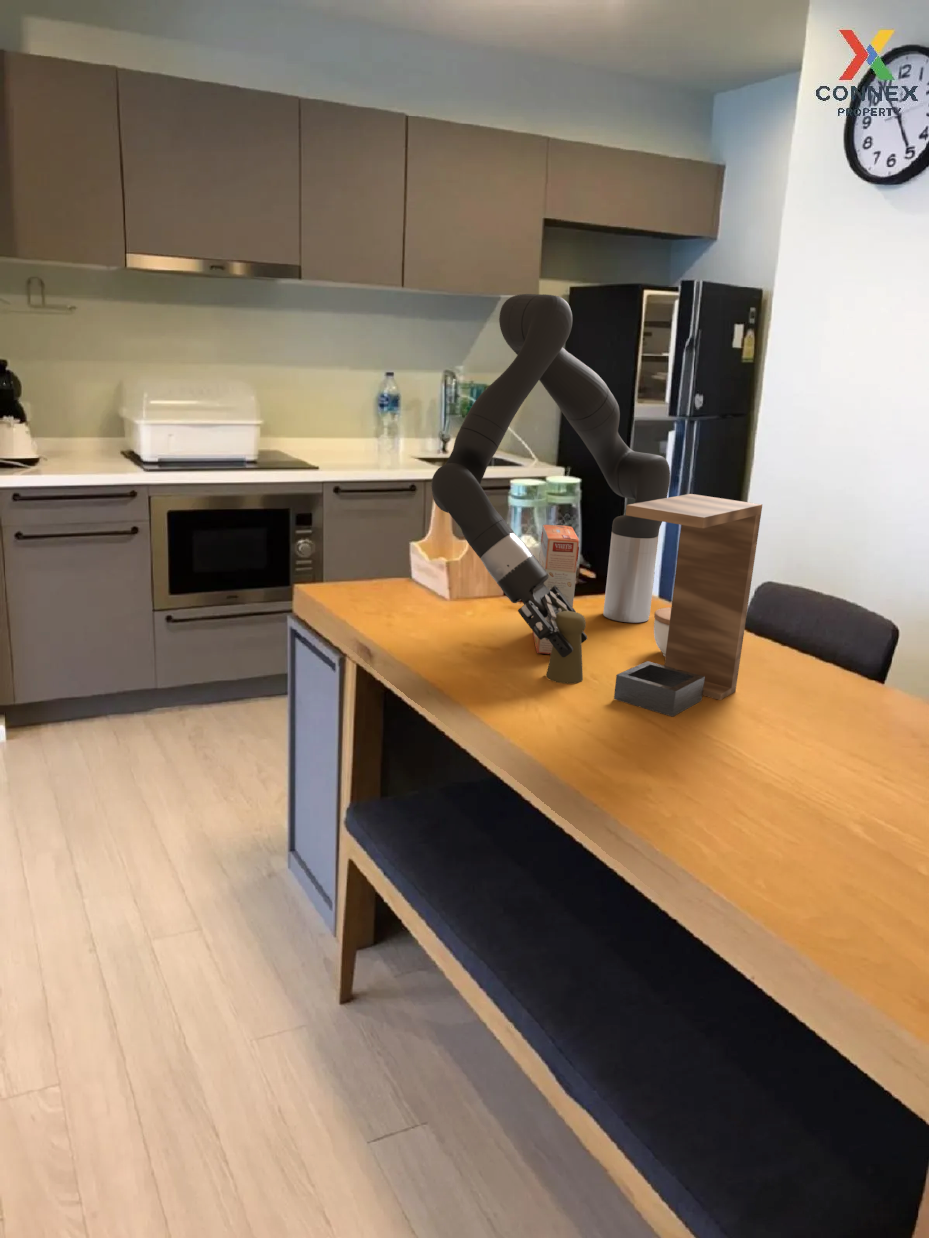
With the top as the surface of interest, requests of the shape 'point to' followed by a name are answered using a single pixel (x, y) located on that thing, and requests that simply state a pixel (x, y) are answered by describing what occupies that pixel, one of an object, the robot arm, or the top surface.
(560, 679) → the cork
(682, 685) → the socket
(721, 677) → the shelf
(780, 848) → the top surface
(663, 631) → the lidded jar
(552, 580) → the cracker box
